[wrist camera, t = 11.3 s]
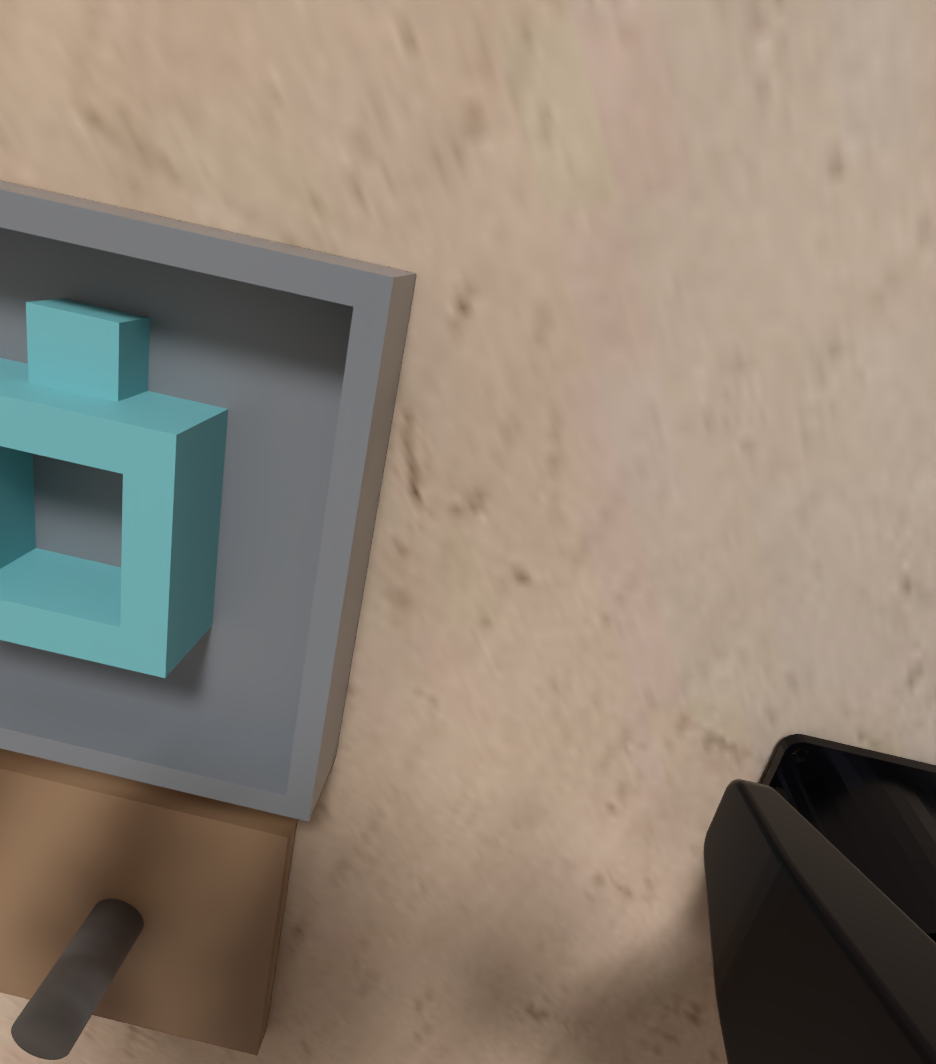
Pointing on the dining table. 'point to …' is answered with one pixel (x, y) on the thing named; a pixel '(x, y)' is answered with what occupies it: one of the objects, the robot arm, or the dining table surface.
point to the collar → (147, 503)
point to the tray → (247, 494)
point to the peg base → (135, 907)
